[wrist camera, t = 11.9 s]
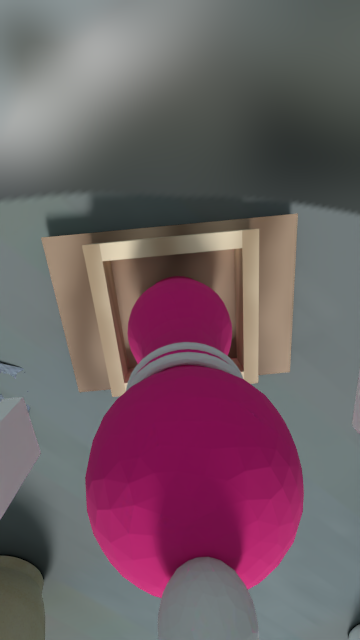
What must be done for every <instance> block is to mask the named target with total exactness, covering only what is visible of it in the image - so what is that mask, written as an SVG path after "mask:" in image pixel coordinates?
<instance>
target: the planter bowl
mask: <svg viewBox="0 0 360 640" xmlns="http://www.w3.org/2000/svg"><path fill="white" fill-rule="evenodd" d="M42 589H43V577H42V575H41V573H40V571H39V570H38V569H37V568H36V567H35V566H33V565H32V564H30V563H29V562H27V561H25V560H22V559H19V558H16V557H11V556H0V640H45V611H44V604H43V598H42Z"/></svg>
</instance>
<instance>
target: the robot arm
mask: <svg viewBox="0 0 360 640" xmlns="http://www.w3.org/2000/svg"><path fill="white" fill-rule="evenodd" d="M352 426H353V427H354V428H355V429H356V431H357V432H358V433H359V434H360V370H359V378H358V385H357V392H356V400H355V407H354V414H353V422H352ZM40 454H41V452H40V448H39V445H38V442H37V439H36V436H35V433H34V429H33V426H32V423H31V420H30V417H29V414H28V411H27V407H26V404H25V401H24V398H23V397H18V398H7V399H3V400H2V401H1V402H0V520H1V518H2V516H3V515H4V513H5V511H6V510H7V508H8V506H9V505H10V503H11V502H12V500H13V498H14V497H15V495H16V493H17V492H18V490H19V488H20V487H21V485H22V483H23V482H24V480H25V478H26V477H27V475H28V473H29V472H30V470H31V469H32V467H33V465H34V464H35V462H36V460H37V459H38V457H39V455H40Z"/></svg>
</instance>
